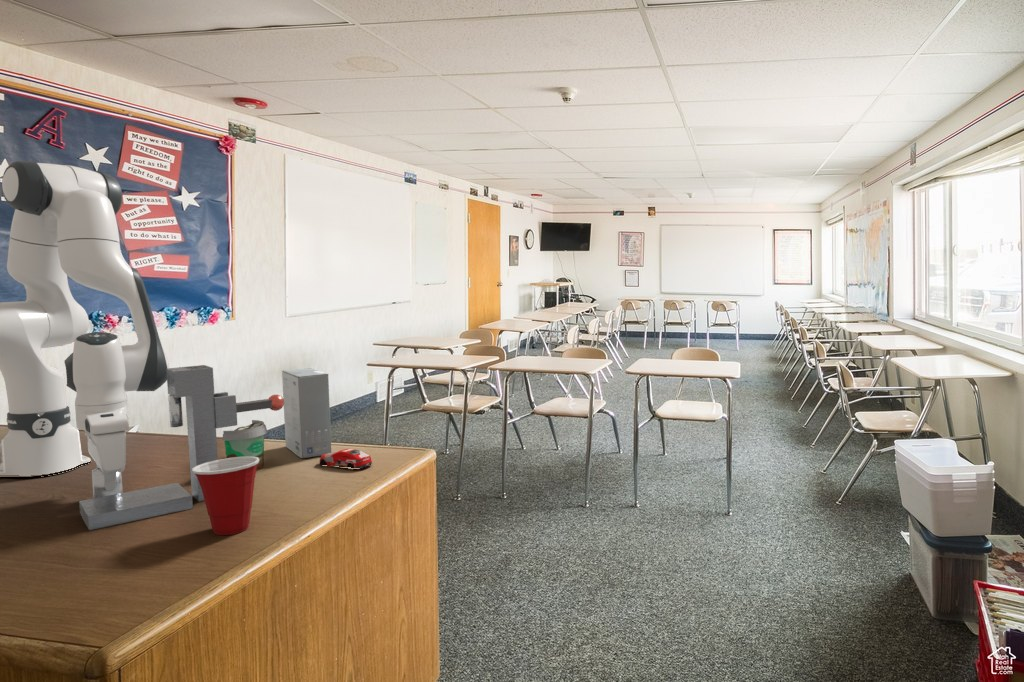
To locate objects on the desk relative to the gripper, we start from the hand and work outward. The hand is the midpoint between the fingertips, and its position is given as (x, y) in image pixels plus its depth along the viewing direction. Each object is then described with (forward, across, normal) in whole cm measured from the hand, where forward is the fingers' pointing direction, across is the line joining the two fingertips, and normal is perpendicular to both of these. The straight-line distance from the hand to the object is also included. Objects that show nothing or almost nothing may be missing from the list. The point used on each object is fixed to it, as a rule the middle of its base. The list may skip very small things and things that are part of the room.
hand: (107, 485), depth 138 cm
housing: (+3, 0, 0) cm, 3 cm away
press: (+3, +11, +8) cm, 14 cm away
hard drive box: (+3, -11, +45) cm, 47 cm away
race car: (+3, +8, +46) cm, 47 cm away
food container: (+3, -4, +29) cm, 30 cm away
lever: (-12, +10, +25) cm, 30 cm away
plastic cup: (+3, +32, +14) cm, 35 cm away
